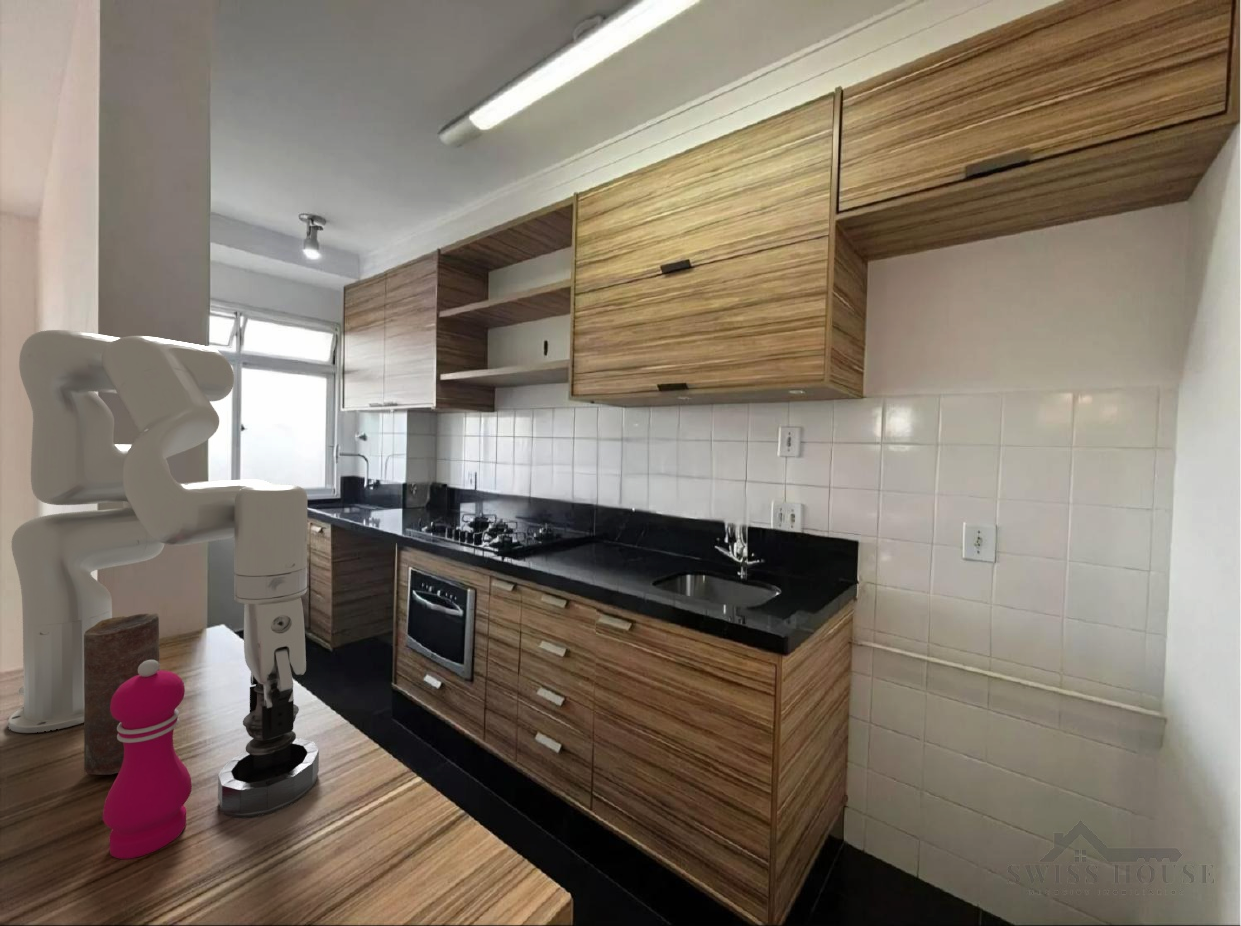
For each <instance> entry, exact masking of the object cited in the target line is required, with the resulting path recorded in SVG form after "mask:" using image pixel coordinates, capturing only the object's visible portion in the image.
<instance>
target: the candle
mask: <svg viewBox="0 0 1241 926" xmlns="http://www.w3.org/2000/svg"><path fill="white" fill-rule="evenodd" d="M159 618H160V617H159V614H158V613H156V612H154V613H138V614H132V615H128V616H117V617H112V618H110V619H106V620H102V621H100V622H98V623H97V624H96V625H95V626H94V627H91V628H90V629H88V630H87V631H86V632H85V634H84V724H83V733H84V734H83V736H84V737H83V743H84V745H83V746H84V747H83V753H84V756H83V759H84V760H83V765H84V772H85V773H86V774H87V775H103V776H105V775H106V776H107V775H115V774H119V771H120V769H121V766H122V763H123V760H124V745H123V742H121V741H119V740H118V739H117V735H118V731H117V726H118V725H119V723H121V722H120V721H118V720H116V719H115V718H114V717H113V716H112V714H111V710H110V706H111V700H112V697H113V695H114V693H115V692H116V690H117V689H118V688H119V687H120V686H121V685H122V684H123V683H124V682H126V681H127V680H129V679H131V678H133V677H135V676H137V675H139V674H138V667H139V666H140V664H142V663H143V662H144V661H147V660H156V661H157V662H158V663H159V664H160V625H159V624H160V621H159ZM158 671H160V669H159V670H158Z"/></svg>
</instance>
